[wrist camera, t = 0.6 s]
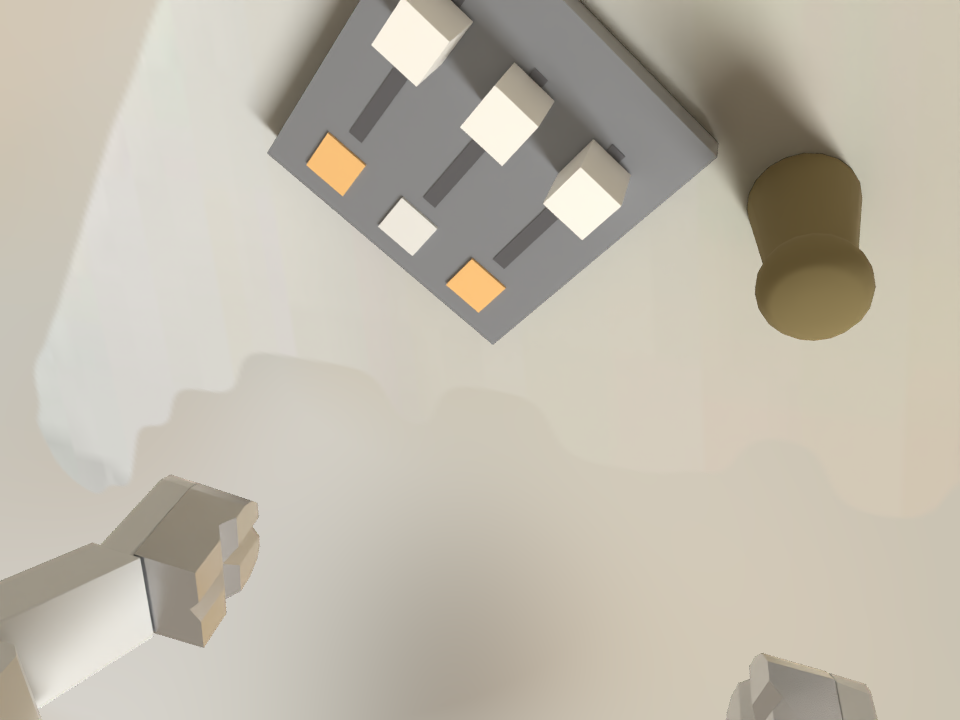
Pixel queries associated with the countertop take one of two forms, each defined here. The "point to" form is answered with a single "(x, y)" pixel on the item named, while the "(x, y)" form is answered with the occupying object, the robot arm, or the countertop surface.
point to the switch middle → (508, 114)
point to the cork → (810, 247)
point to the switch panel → (469, 168)
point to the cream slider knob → (421, 36)
